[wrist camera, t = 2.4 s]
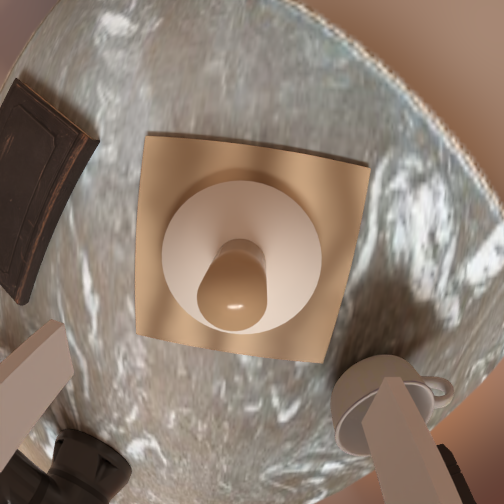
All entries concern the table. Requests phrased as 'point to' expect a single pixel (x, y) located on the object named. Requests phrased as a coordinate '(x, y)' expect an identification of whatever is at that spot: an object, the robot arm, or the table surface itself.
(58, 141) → the hardcover book
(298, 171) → the mat
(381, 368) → the teacup
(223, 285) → the lid
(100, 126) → the table surface
